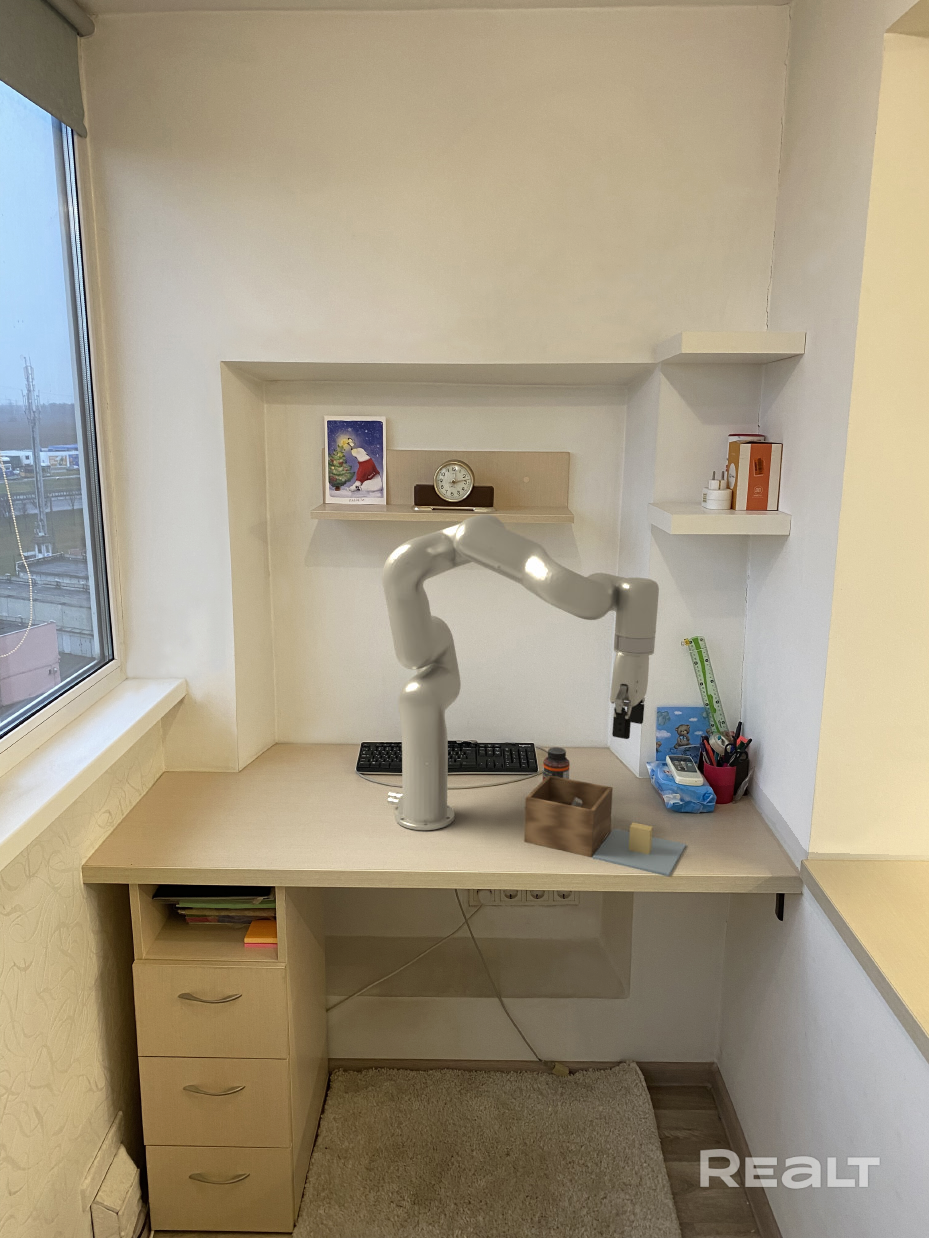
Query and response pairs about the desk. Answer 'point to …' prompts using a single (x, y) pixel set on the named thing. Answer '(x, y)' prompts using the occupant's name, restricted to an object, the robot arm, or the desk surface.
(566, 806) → the box
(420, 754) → the robot arm
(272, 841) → the desk surface
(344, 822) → the desk surface
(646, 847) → the lid
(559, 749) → the supplement bottle
